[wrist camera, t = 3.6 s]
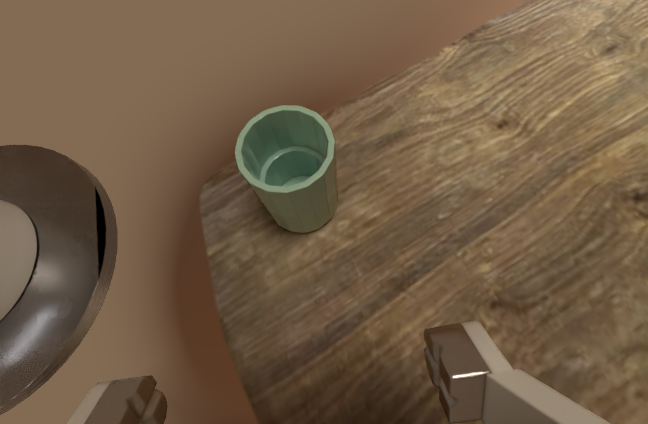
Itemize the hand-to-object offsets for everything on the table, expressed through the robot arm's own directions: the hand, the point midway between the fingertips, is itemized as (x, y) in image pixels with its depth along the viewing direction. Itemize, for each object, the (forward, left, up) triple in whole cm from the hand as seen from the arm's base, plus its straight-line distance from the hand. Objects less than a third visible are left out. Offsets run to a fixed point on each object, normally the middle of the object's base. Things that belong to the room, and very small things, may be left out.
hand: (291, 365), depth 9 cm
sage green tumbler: (+2, +11, -15) cm, 18 cm away
